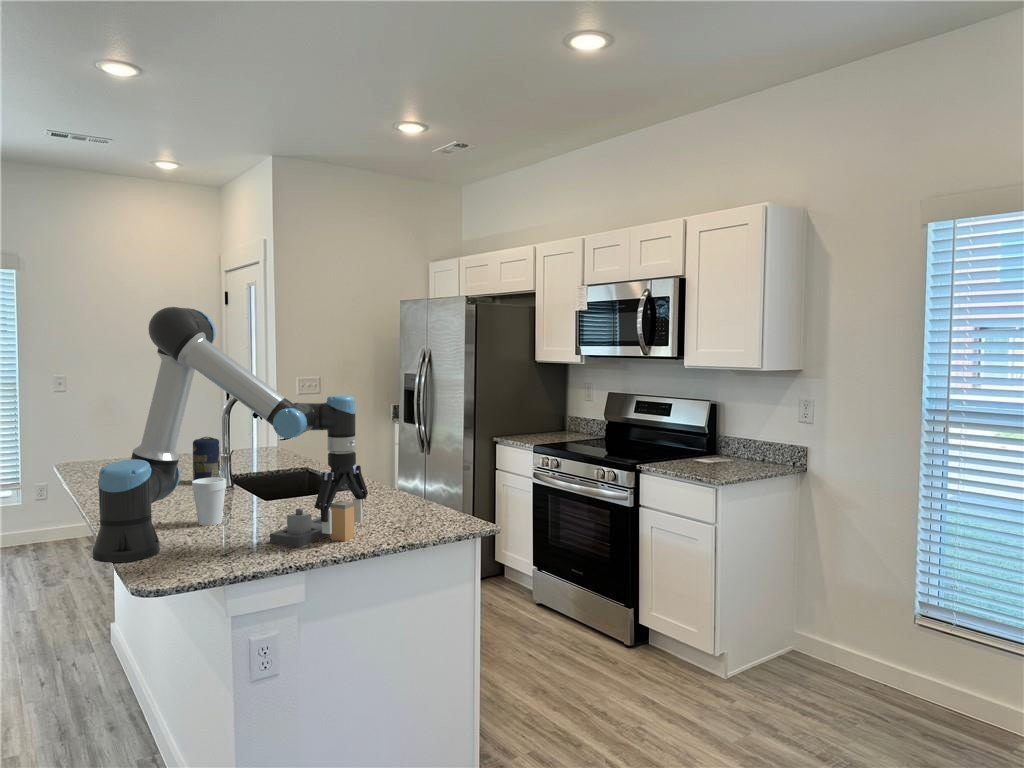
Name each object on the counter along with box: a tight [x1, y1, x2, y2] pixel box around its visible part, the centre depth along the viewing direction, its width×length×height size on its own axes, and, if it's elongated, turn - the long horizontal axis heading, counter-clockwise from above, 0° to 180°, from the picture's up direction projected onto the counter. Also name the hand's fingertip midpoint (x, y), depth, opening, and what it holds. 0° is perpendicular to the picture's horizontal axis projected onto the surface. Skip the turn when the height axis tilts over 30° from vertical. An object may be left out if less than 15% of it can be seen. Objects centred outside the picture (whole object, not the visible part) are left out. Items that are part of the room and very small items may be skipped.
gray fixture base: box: [269, 508, 356, 548], centre depth 203 cm, size 24×10×8 cm, turn 155°
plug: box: [329, 500, 355, 542], centre depth 199 cm, size 4×5×10 cm
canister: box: [192, 436, 221, 481], centre depth 275 cm, size 10×10×18 cm
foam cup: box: [191, 477, 227, 527], centre depth 215 cm, size 10×9×13 cm
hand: (342, 527), depth 199 cm, fingers open, 13 cm apart
